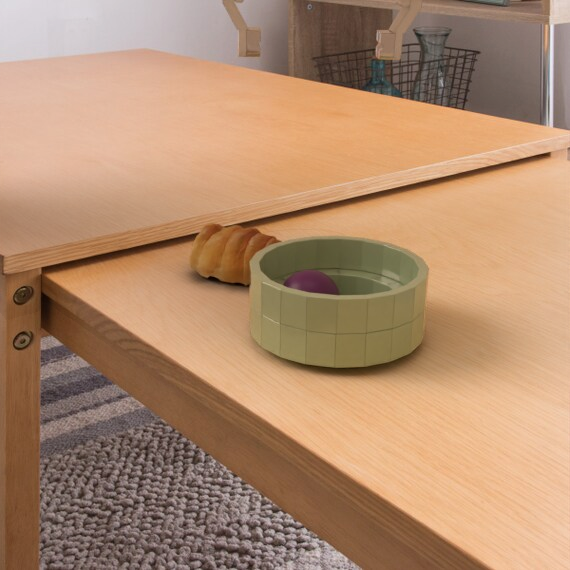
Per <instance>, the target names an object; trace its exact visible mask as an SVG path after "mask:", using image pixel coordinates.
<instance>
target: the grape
mask: <svg viewBox="0 0 570 570" xmlns="http://www.w3.org/2000/svg"><path fill="white" fill-rule="evenodd" d="M283 286H286V287H288V288H292V289H297V290H301V291H305V292H309V293H319V294H329V295H340V292H339V289H338V287H337V285H336V284H335V282H334V281H333V280H332V279H331V278H330V277H329V276H328V275H326V274H325V273H322V272H320V271H317V270H302V271H299V272H297V273H295V274H293V275H291V276H290V277H289V278H288V279H287V280H286V281H285V282H284V284H283Z"/></svg>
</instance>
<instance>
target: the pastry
mask: <svg viewBox="0 0 570 570" xmlns="http://www.w3.org/2000/svg"><path fill="white" fill-rule="evenodd" d="M282 241H283V240H280V239H277V238H276V236H274V235H270V234H266V233H262V232H261V230H259V229H258V228H256V227H247V228H245V227H243V226H241V225H239V224H233V225H231V226H227V227H225V226H222V225H221V224H219V223H214V222H210V223H208V224H205V225H204V226H203V227H201V229H200V231H199V232H198V234H197V235H196V237H195V239H194V241H193V244H192V246H191V250H190V255H189V261H188V265H189V266H190V268H192V269H193V270H194V271H196V273H198V274H199V275H200V277H204V278H206V279H209V277H214V278H216V279H218V280H219V281H220V282H225V283H230V284H235V283H238V284H242V285H244V286H249V263H250V260H251V259H252V258H253V256H254V255H255V254H256V252H258V251H260V250H262V249H264V248H265V247H267V246H269V245H271V244H275V243H278V242H282Z"/></svg>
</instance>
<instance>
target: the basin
mask: <svg viewBox="0 0 570 570" xmlns="http://www.w3.org/2000/svg"><path fill="white" fill-rule="evenodd" d="M281 241H282V242H278V243H275V244H271V245H269V246H267V247H265V248H264V249H262V250H260V251H258V252H256V254H255V255H254V256H253V258H252V259H251V260H250V263H249V284H248V286H249V288H248V289H249V291H248V292H249V296H248V297H249V303H248V305H249V306H248V307H249V309H248V310H249V311H248V312H249V313H248V314H249V320H248V321H249V331H250V336H251V337H252V339H253V340H254V341H255V342H256V343H257V344H258V345H259V347H261V348H262V349H264V350H265V351H268V352H270V354H271V353H272V354H274V355H275V356H277V357H280V358H281V359H284V360H288V361H292V362H296V363H300V364H302V365H309V366H314V367H322V368H332V369H349V368H350V369H351V368H352V369H353V368H364V367H370V366H371V367H372V366H376V365H382V364H386V363H390V362H394V361H396V360H398V359H400V358H403V357H405V356H407V355H409V354H411V353H413V351H414V350H416V349H417V348H418V347H419V346H420V345H421V344H422V343H423V340H424V339H423V338H424V335H425V328H426V327H425V326H426V313H427V301H428V289H429V288H428V287H429V275H430V267H429V265H428V264H427V263H426V261H425V260H424V259H423V257H421V256H420V255H418V254H417V253H415V252H414V251H411V250H410V249H408V248H405V247H402V246H400V245H396V244H393V243H390V242H387V241H383V240H376V239H372V238H367V237H359V236H348V235H347V236H346V235H314V236H313V235H312V236H306V237H297V238H290V239H286V240H281ZM302 270H317V271H320V272H322V273H325V274H326V275H328V276H329V277H330V278H331V279H332V280H333V281H334V282H335V284H336V285H337V287H338V289H339V292H340V295H329V294H319V293H309V292H305V291H301V290H297V289H292V288H288V287H286V286H283V284H284V282H285V281H286V280H287V279H288V278H289V277H290V276H291V275H293V274H295V273H297V272H299V271H302Z"/></svg>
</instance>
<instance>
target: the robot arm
mask: <svg viewBox="0 0 570 570" xmlns="http://www.w3.org/2000/svg"><path fill="white" fill-rule="evenodd" d="M244 1H245V0H221V2H222V3H221V4H222V5H223V7H224V9H225V11H226V12H227V14H228V16H229V18H230V20H231V22H232V24H233V25H234V28H235V29H236V30H237V57H238V58H261V50H262V49H261V45H260V43H261V40H262V30H261V27H257V26H256V27H255V26H248V24H247V23H246V21H245V19H244V17H243V15H242V13H241V11H240V10H239V8H238V6H237V4H242V3H244ZM395 3H396V5H399V6H401V8H400V9H399V11H398V13H397V15H396V16H395V18H394V19H393V21H392V23H391V24H390V26H389V28H388V29H376V38H375V39H376V42H377V44H376V46H375V57H376V59H378V60H386V61H388V60H389V61H400V60H401V58H402V53H403V52H402V51H403V39H404V34H406V32H407V31H408V29H409V28H410V27H411V25H412V23H413V22H414V20H415V19H416V18H417V16H418V14H419V13H420V11H421V9H422V8H423V0H395Z"/></svg>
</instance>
